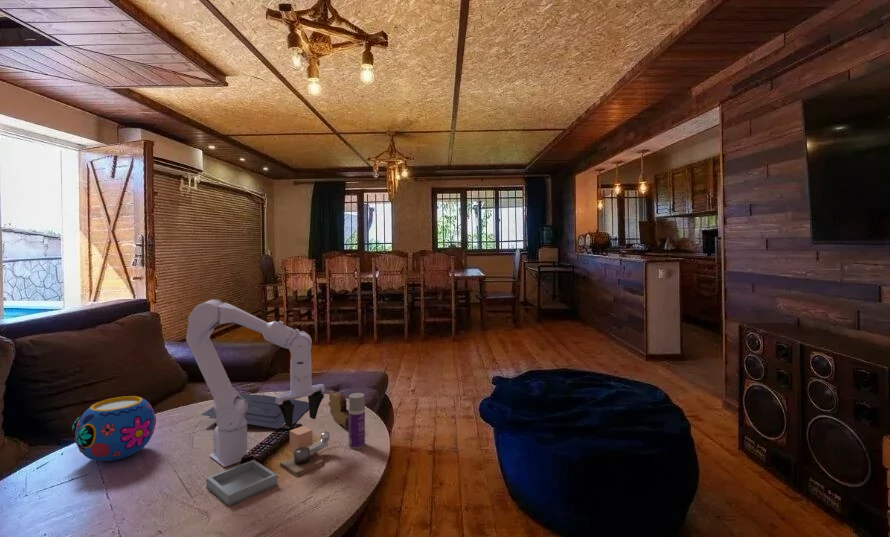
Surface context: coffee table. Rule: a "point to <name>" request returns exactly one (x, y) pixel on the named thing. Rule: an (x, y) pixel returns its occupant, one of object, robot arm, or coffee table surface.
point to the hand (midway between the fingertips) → (301, 422)
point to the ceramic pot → (114, 428)
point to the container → (356, 420)
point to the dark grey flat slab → (266, 411)
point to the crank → (310, 449)
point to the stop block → (300, 438)
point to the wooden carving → (339, 409)
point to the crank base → (301, 465)
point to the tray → (241, 482)
